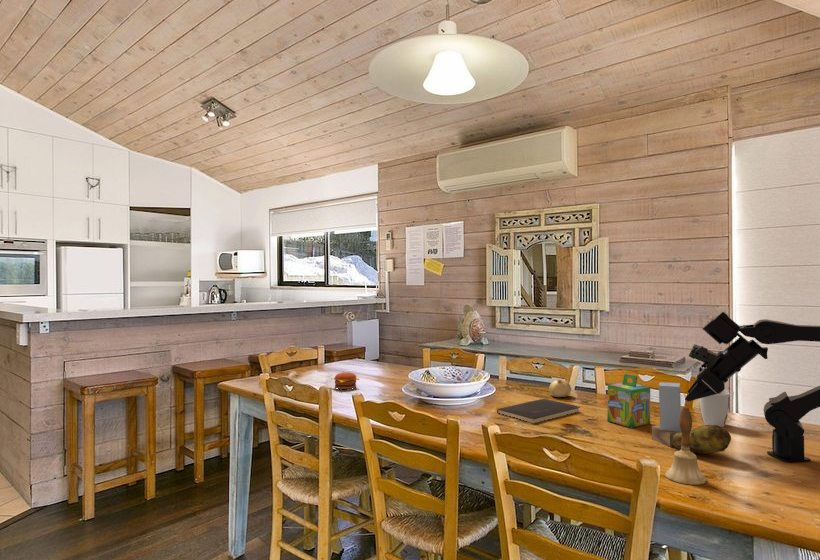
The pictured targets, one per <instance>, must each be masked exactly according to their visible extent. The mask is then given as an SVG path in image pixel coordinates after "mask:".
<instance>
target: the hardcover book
mask: <svg viewBox="0 0 820 560" xmlns="http://www.w3.org/2000/svg"><path fill="white" fill-rule="evenodd" d="M580 408H581V406H580V405H579V406H578V405H574V404H571V403H566V402H561V401H557V400H552V399H547V398H541V399H540V398H539V399H535V400H532V401H527V402H522V403H518V404H517V403H516V404H513V405H507V406H503V407H500V408H497V409H496V414H497V413H500V414H499V415H502V414H504V415H503V416H505V415H507V416H506V417H509V416H511V417H510V418H512V417H515V418H514V419H516V418H518V419H517V420H519V419H521V420H520V421H523V420H524V421H523V422H526V421H527V423H530V424H536V423H540V421H541V422H544V420H545V421H547V420H548V419H549V420H551V419H552V418H553V419H556V417H557V418H560V417H564V416H568V415H572V414H575V412H576V413H579V412H580V410H579V409H580ZM571 413H572V414H571ZM567 414H568V415H567Z"/></svg>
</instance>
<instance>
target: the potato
mask: <svg viewBox="0 0 820 560" xmlns="http://www.w3.org/2000/svg"><path fill="white" fill-rule="evenodd" d="M689 439H690V447H689V448H690V452H692V453H694V454H701V455H702V454H703V455H704V454H711V453H717V452H718V453H720V452H721V453H722V452H725V450H727V449H728V447H729V445H730V443H731V441H732V437H731V434H730V432H728V431H727V430H726V429H725V428H724V427H720V426H717V425H705V424H704V425H700V426H698V427H696V428H694V429H691V432H690V436H689ZM681 443H682V433H681V432H679V433H676V434H674V435H673V438H672V444H673V445H674V446H675V447H674V448H676V449H677V450H679V451H680V450H681Z"/></svg>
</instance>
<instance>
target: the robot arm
mask: <svg viewBox="0 0 820 560" xmlns="http://www.w3.org/2000/svg"><path fill="white" fill-rule="evenodd" d="M702 330H703V332H705V333H706V334H707V335H708V336H709V337H711V339H713V340H714V341H715V342H716V343H717V344H719V345H721V344H725V345H728V344H729V345H728V346H727V347H726V348H725V349H724V350H720V351H718V352H717V353H716V352H714V351H711V350H710V349H708V348H707V347H704V346H703V345H701V346H700V345H698V344H697V343H696V344H693V345H692V348H691V350H690V352H689V354H688V357H689V358H691V359H693V360H694V359H695V360H697V361H700V362H702V363H701V364H700V366H699V368H698V370H699V371H698V374H697V375H696V379H695V381H694V382H693V383H692V385H691V386H690V387H689V389H688V390H687V395H686V396H685V401H687V402H693V401H695V400H699V399H700V398H703V397H707V396H711V395H716V394H717V393H718V394H720V393H721V392H722V391H725V390H726V387H725V386H726V385H725V384H726V383H727V382H728V381H729V379H730V378H731V377H733V376H734V375H735V374H736V373H739V372H740V371H742V368H744V367H745V366H746V365H747V364H748V363H750V362H751V361H752V360H753V359H755V358H756V357H757V356H758V355H759V356H761V357H762V358H763V360H764V359H765V360H768V358H769V357H768V350H769V348H768V347H765V346H763V347H762V346H761V345H760V344H764V345H775V344H784V343H790V342H791V343H792V342H798V341H799V342H819V343H820V325H809V324H808V325H806V324H805V325H803V324H793V323H789V322H783V321H777V320H773V319H765V318H763V319H760V320H757V321H756V322H755V323H753V324H743V325H739V324H738V323H736V322H735V321H734V320H733V319H732V318H731V317H730V316H729V315H728V314H727V313H726V312H725V311H721V313H719V314H718V315H717V316H715V318H712V319H711V320H709V322H708V323H706V324H705V325H704V326H703V327H702ZM744 336H745V337H747V338H748V337H749V338H752V339H750V340H748V339H746V338H745V337H744ZM737 337H738V338H737ZM736 338H737V339H736ZM734 339H736V340H735V341H733V340H734ZM754 339H755V340H756V341H757V342H759V343H760V344H759V343H757V342H756V341H755V340H754ZM732 341H733V342H732ZM731 342H732V343H731ZM730 343H731V344H730ZM768 400H769V401H768V402H765V404H764V406H763V410H762V411H763V414H764V419H765V421H766V423H767V424H769V425H770V426H771V427H773V428H772V435H771V438H772V439H771V442H772V443H771V446H772V447H771V448H772V450H769V451H766V454H768V455H770V456H772V457H774V458H776V459H778V460H780V461H783V462H786V463H795V462H797V463H798V462H800V463H801V462H811V461H812V460H811V458H810V457H808V456H806V455H805V435H804V434H805V429H804V426H803V425H802V422H801V421H800V420H801V419H802V418H803V417H805V416H806V415H807V414H808V413H810V412H811V411H813V410H815V409H818V408H820V385H818V386H815V387H813V388H811V389H809V390H807V391H804V392H803V393H799V394H797V395H789V396H788V393H787V391H784V392H782V393H780V394H778V395H776V396H775V397H774V396H773V397H768Z"/></svg>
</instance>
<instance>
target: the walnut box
mask: <svg viewBox="0 0 820 560" xmlns="http://www.w3.org/2000/svg"><path fill="white" fill-rule="evenodd" d="M676 433H679V432H676V431H666V430H660V424H659V425H652V426H651V440H653V441H655V442H657V443H659V444H661V445H663V446H666V447H669V448H676V447H675V446H674V445H673V444H672V438H673V435H674V434H676Z"/></svg>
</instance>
